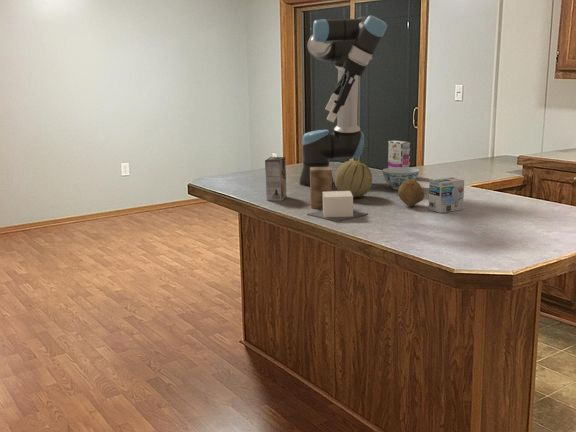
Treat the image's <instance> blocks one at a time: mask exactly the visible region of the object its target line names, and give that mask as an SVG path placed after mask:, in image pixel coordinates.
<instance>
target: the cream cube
mask: <svg viewBox="0 0 576 432" xmlns="http://www.w3.org/2000/svg"><path fill="white" fill-rule="evenodd" d="M322 210H323V214H324V217H351V216H353V210H354V198H353V195H352V193H351V191H338V190H334V191H333V190H332V191H326V192H323V208H322Z"/></svg>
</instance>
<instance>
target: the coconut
mask: <svg viewBox="0 0 576 432" xmlns="http://www.w3.org/2000/svg"><path fill="white" fill-rule="evenodd" d="M397 195H398V197H399V200H401V201H402V202H403V203H404V204H405V205H406V206H408V207H413V206H414V207H415V205H417V204H418V203H421V202H422V201H423V200H424V199H425V193H424V190H423V187H422V186H421V184H420V182H417V181H416V180H413V179H408V180H405V181H404V182H403V183H402V184H401V185H400V187H399V190H398V191H397Z"/></svg>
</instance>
